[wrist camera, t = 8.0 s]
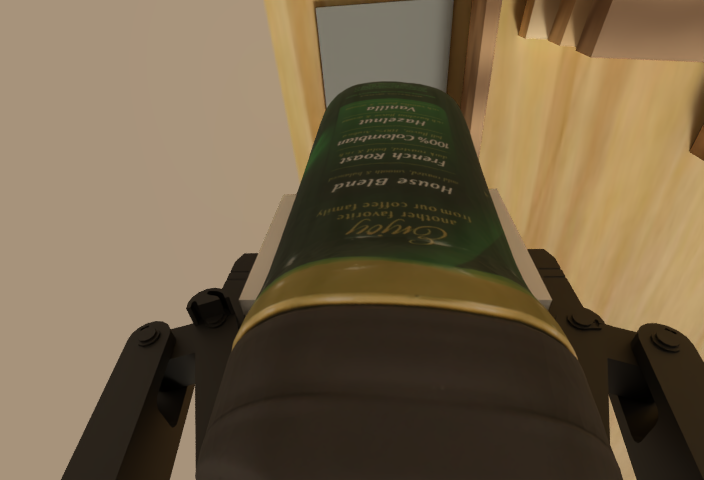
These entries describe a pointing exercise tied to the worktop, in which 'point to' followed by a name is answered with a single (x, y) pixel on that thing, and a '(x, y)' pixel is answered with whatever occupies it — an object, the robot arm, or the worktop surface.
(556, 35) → the offcut middle
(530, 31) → the offcut bottom
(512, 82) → the worktop surface
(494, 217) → the coffee jar
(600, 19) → the offcut top
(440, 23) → the mat
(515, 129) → the worktop surface
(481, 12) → the wooden open enclosure
